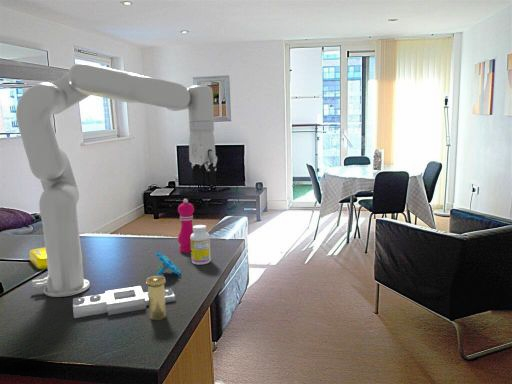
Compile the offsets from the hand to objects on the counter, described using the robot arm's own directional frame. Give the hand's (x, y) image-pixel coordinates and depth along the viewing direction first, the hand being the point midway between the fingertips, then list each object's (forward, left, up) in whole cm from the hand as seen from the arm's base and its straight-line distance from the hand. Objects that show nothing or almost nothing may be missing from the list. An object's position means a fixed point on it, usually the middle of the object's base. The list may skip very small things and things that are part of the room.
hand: (204, 182), depth 142 cm
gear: (-10, +4, -31) cm, 33 cm away
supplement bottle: (+1, +12, -30) cm, 32 cm away
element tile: (-47, +36, -30) cm, 66 cm away
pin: (-20, -26, -30) cm, 45 cm away
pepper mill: (0, +28, -30) cm, 41 cm away
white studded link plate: (-27, -15, -30) cm, 43 cm away
